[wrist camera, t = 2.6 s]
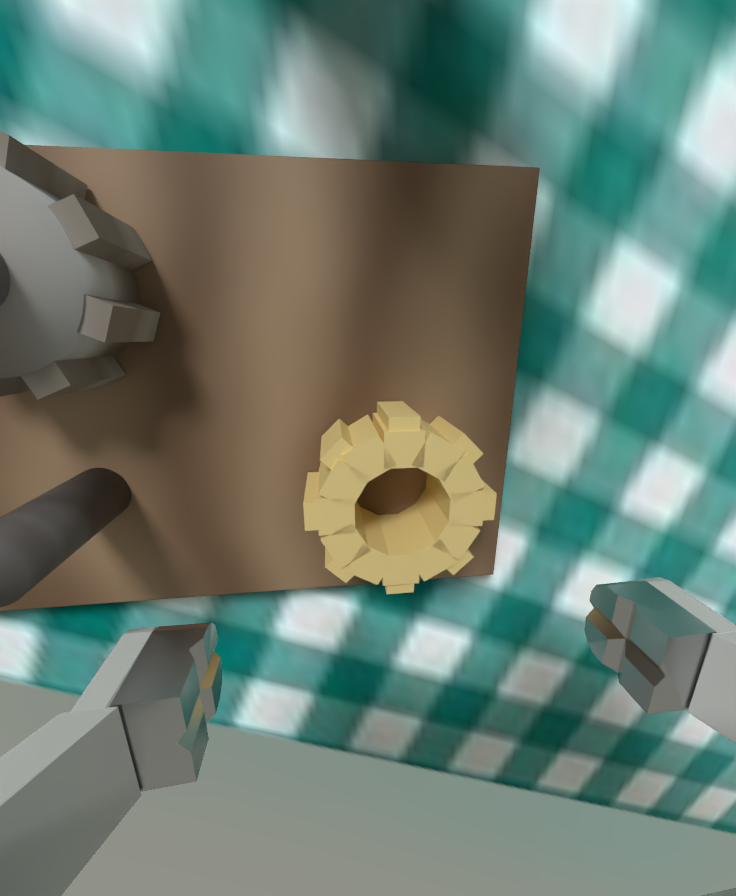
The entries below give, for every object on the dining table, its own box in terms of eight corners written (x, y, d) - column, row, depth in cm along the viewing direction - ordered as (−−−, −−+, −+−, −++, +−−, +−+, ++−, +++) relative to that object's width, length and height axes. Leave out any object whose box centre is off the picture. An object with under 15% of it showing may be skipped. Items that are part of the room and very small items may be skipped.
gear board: (517, 185, 13) (677, 56, 7) (480, 555, 18) (558, 668, 12) (-225, 157, 11) (-922, -72, 5) (-46, 591, 16) (-287, 755, 10)
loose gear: (470, 398, 14) (506, 414, 11) (459, 543, 16) (487, 588, 13) (303, 402, 14) (297, 420, 11) (312, 553, 15) (309, 602, 13)
